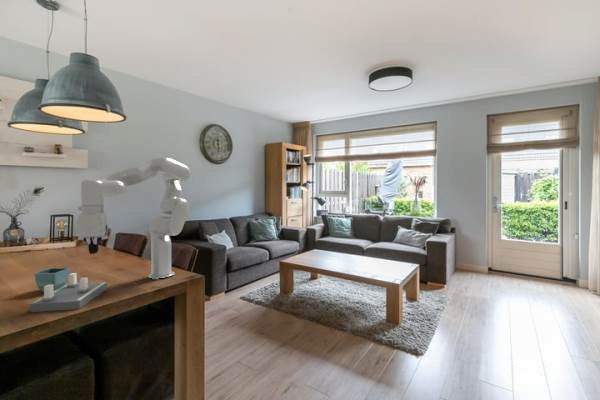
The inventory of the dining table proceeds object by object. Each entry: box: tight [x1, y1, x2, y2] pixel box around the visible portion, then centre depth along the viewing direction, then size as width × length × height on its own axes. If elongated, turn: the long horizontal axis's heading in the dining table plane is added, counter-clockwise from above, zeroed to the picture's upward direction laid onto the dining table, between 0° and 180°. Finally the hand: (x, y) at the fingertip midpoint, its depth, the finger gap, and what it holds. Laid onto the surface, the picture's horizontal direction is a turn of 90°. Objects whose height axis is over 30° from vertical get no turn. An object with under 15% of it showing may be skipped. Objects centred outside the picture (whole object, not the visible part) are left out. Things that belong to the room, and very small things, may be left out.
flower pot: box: [34, 267, 70, 293], centre depth 128 cm, size 9×9×9 cm
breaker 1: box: [41, 284, 56, 301], centre depth 109 cm, size 4×3×5 cm
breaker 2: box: [66, 272, 80, 287], centre depth 124 cm, size 4×3×5 cm
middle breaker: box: [77, 277, 90, 292], centre depth 118 cm, size 4×3×5 cm
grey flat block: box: [29, 281, 108, 313], centre depth 117 cm, size 23×16×3 cm
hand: (93, 253), depth 119 cm, fingers closed
